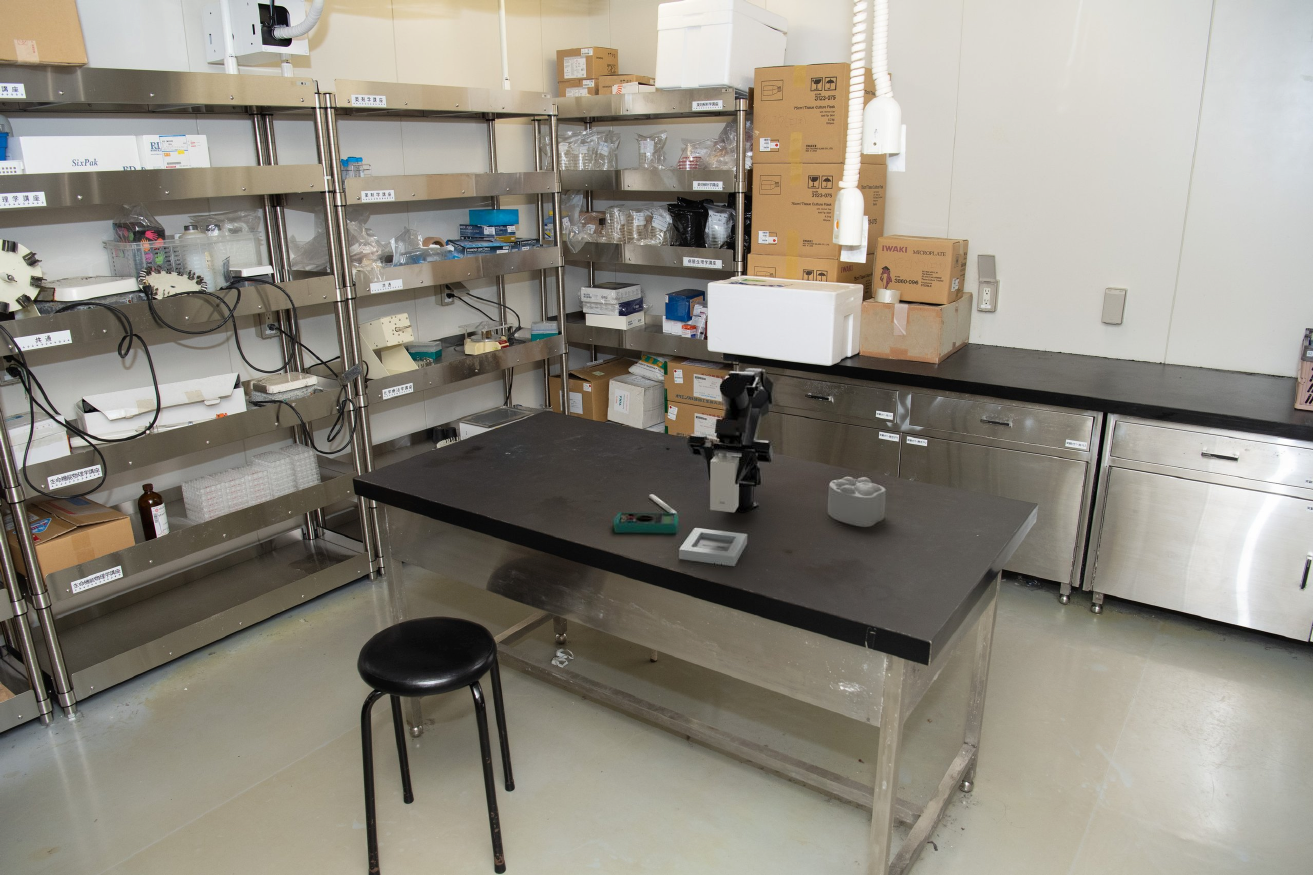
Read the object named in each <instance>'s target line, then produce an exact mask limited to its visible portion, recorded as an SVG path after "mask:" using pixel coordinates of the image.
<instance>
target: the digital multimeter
mask: <svg viewBox="0 0 1313 875" xmlns="http://www.w3.org/2000/svg"><path fill="white" fill-rule="evenodd" d="M613 530H614V533H616V534H617V533H618V534H620V533H621V534H627V533H629V534H632V533H633V534H670V535H672V534H677V533H678V530H679V515H678V513H677V514H676V513H669V512H668V513H667V512H663V513H662V512H658V513H657V512H651V513H649V512H646V513H645V512H618V513H617V514H616V516H615V517H614V519H613Z"/></svg>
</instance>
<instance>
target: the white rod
mask: <svg viewBox="0 0 1313 875" xmlns="http://www.w3.org/2000/svg"><path fill="white" fill-rule="evenodd" d="M649 498H650V500H652V501H653V502H655V503H656V504H658V505H659V506H660V507H661V508H663V509H664V510H665V511H667V512H668V513H676V514H677V515H678V512H677V511H676V510H675V509H673V508H672V507H671V506H669V505H668V504H667V503H665V501H663V500H661V499H660V498H659V497H658V496H656V495H655V494H653V493H652V494H649Z"/></svg>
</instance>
